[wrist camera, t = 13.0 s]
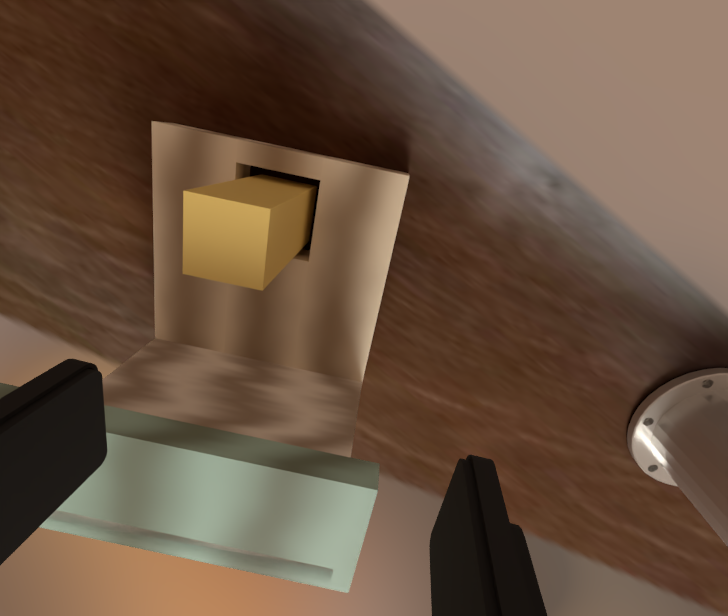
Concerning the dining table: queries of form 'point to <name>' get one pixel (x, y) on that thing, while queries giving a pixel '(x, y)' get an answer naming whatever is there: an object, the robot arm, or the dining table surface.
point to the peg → (245, 228)
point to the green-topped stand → (248, 381)
